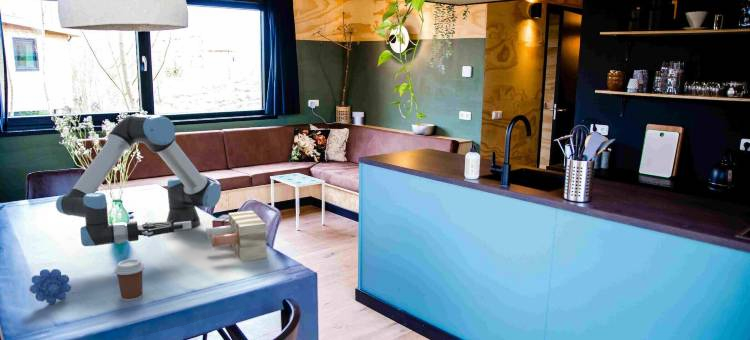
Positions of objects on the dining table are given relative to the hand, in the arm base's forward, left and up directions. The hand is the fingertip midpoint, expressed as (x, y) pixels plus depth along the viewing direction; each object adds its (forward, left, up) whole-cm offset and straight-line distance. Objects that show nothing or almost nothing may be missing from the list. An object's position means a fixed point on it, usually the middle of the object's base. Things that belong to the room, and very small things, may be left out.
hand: (191, 224), depth 221 cm
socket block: (+6, +21, -13) cm, 25 cm away
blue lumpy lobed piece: (+29, -47, -13) cm, 57 cm away
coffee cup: (+34, -24, -13) cm, 43 cm away
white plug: (0, +13, -7) cm, 15 cm away
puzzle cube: (-12, +17, -13) cm, 25 cm away
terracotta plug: (+12, +13, -7) cm, 19 cm away
